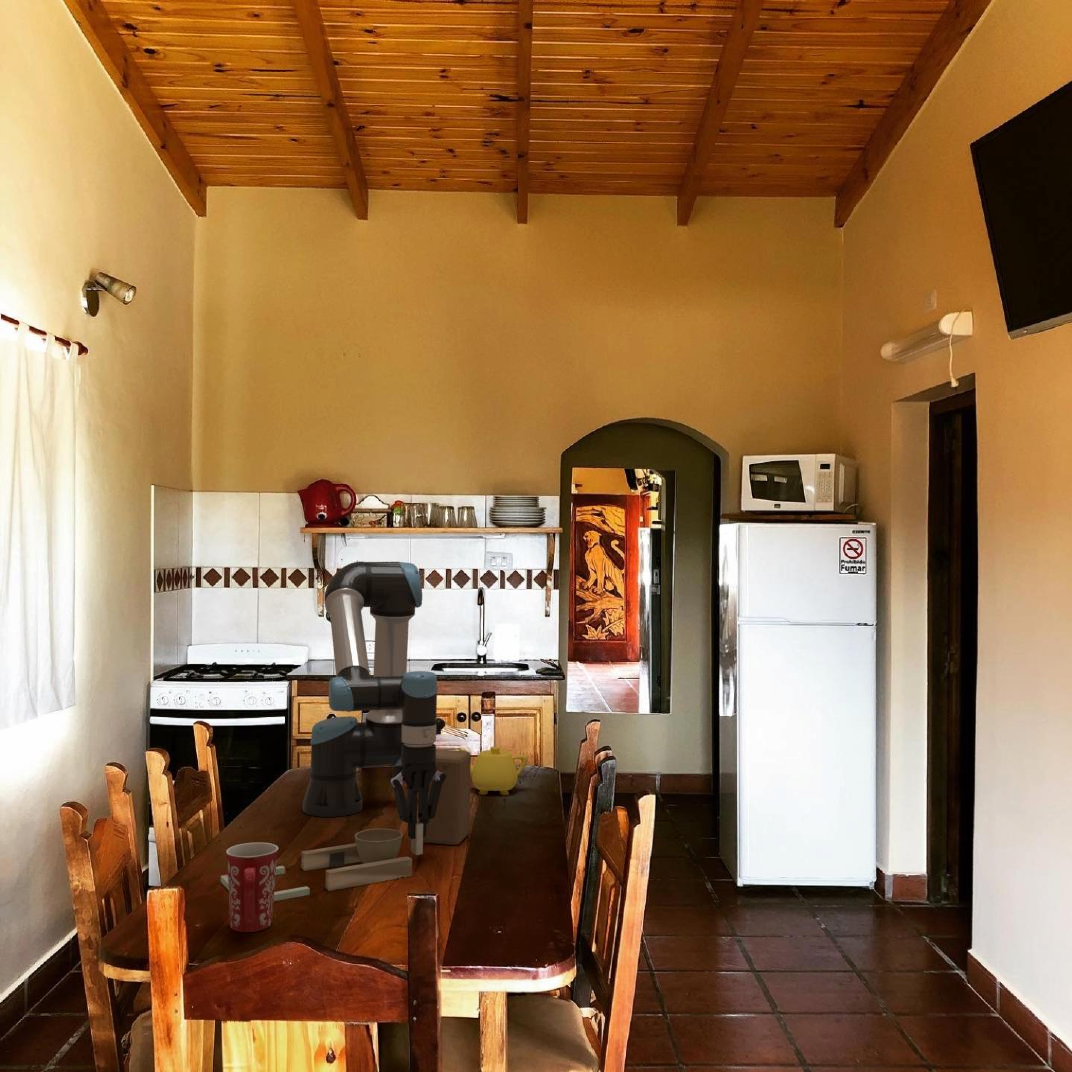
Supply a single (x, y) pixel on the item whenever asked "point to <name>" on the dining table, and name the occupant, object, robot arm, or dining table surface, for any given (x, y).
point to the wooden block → (451, 799)
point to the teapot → (495, 770)
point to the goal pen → (280, 894)
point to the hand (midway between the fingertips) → (416, 852)
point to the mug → (251, 885)
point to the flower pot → (378, 844)
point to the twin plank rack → (353, 867)
